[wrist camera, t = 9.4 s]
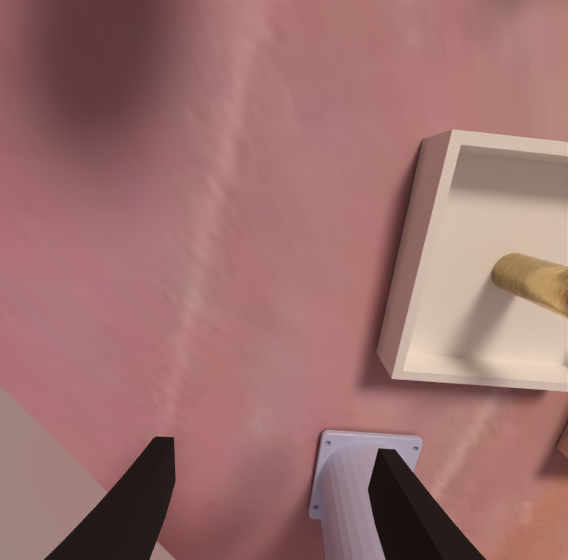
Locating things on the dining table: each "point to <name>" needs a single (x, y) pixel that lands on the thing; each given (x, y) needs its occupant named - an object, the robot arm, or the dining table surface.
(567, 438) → the grey square socket block
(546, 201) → the tray
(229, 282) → the dining table surface
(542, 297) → the pin
